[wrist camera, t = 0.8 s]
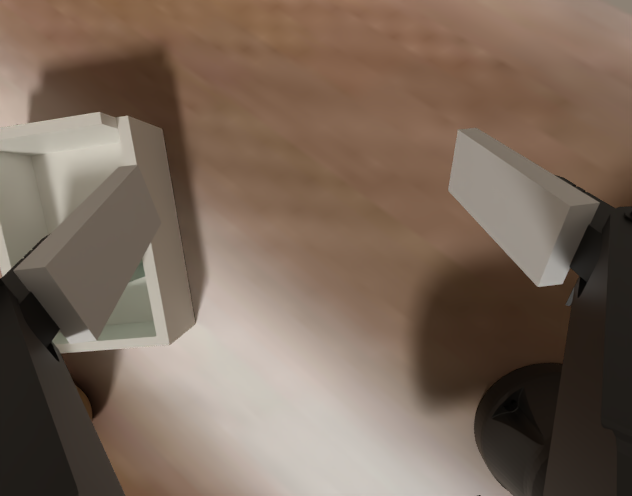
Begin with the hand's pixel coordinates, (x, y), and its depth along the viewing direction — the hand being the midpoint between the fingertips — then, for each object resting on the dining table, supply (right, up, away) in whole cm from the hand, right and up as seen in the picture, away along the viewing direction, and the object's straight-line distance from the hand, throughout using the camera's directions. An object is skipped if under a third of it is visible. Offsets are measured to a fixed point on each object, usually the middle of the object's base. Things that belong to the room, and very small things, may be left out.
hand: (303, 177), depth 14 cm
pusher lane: (-23, -2, +24) cm, 33 cm away
